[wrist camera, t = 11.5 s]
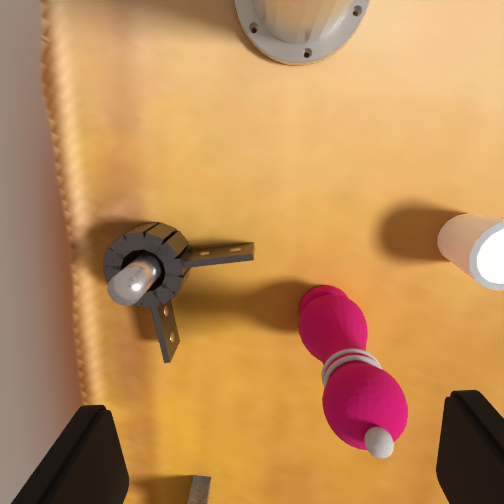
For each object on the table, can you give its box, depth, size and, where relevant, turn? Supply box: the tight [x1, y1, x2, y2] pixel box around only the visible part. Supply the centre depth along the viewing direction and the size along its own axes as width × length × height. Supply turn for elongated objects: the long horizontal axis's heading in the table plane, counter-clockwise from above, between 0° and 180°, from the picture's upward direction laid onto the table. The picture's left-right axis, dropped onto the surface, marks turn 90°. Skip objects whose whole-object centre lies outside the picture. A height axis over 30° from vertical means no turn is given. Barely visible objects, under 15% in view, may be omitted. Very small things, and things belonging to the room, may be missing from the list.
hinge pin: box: [108, 251, 165, 306], centre depth 33 cm, size 3×3×10 cm
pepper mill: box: [298, 286, 408, 458], centre depth 29 cm, size 7×7×20 cm
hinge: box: [103, 222, 255, 363], centre depth 36 cm, size 16×16×5 cm
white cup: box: [437, 213, 504, 290], centre depth 33 cm, size 7×7×7 cm
